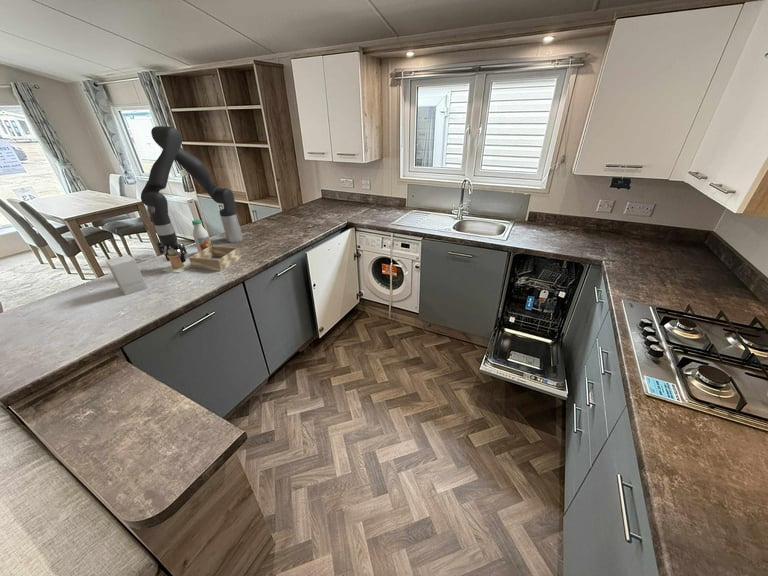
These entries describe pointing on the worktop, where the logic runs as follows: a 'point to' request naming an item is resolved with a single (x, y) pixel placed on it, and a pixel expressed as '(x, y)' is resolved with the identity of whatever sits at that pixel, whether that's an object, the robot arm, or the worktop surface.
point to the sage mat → (179, 270)
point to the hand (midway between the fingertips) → (176, 261)
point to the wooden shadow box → (204, 261)
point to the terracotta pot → (174, 259)
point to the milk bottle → (200, 236)
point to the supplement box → (127, 274)
